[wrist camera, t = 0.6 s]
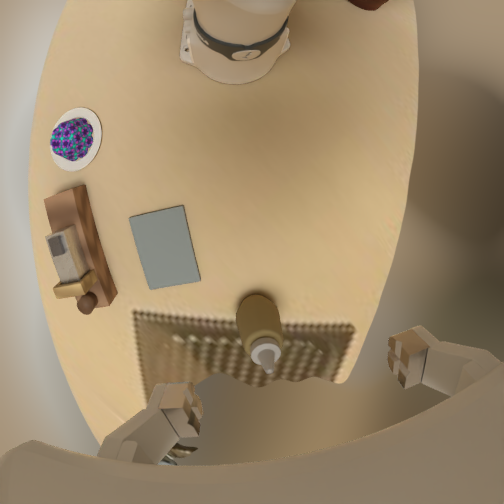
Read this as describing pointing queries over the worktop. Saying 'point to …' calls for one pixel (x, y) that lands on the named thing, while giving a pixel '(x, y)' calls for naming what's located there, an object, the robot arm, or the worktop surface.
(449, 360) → the robot arm
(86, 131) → the pudding
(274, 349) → the squeeze bottle
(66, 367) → the worktop surface
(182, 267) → the rubber mat
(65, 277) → the lever cap
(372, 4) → the wafer roll
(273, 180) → the worktop surface
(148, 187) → the worktop surface
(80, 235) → the brown stand
